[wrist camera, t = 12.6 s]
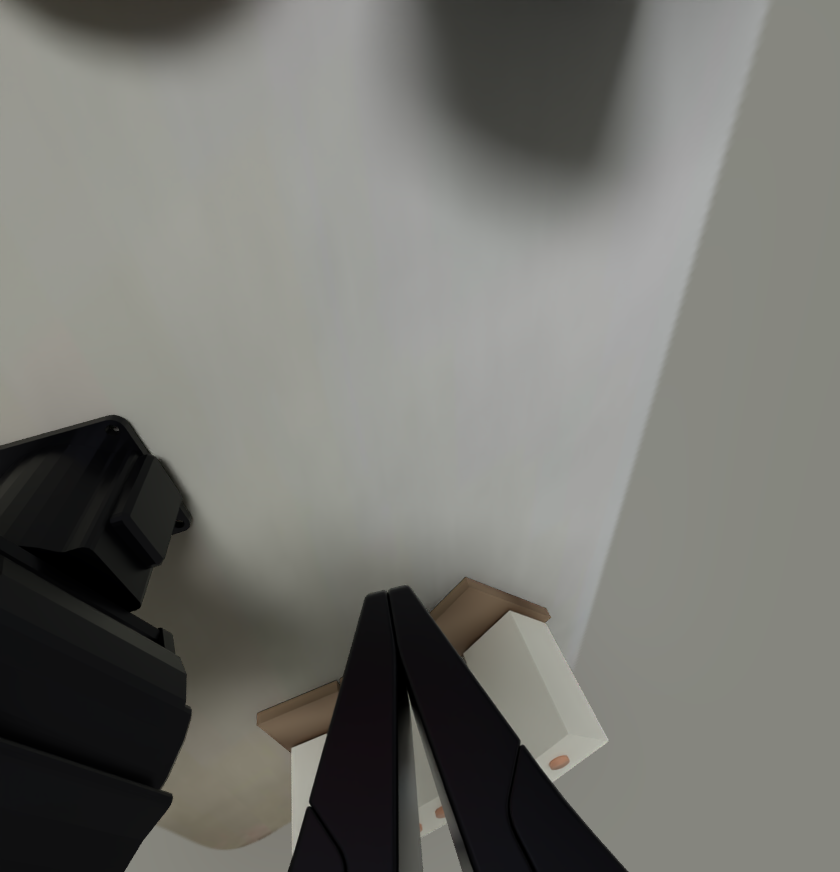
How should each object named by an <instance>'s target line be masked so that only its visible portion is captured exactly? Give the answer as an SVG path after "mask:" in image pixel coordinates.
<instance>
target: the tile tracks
mask: <svg viewBox="0 0 840 872" xmlns="http://www.w3.org/2000/svg"><path fill="white" fill-rule="evenodd" d="M508 611H513V612H516V613H518V614H521V615H524V616H527V617H530V618H532V619H535V620H538V621H541V622H543V623H545V622H547V621H548V620H549V619H550V618H551V616H550V615H549V613H548V611H547V609H546V608H544V607H541V606H539V605H536V604H534V603H531V602H528V601H526V600H523V599H521V598H518V597H516V596H513V595H510V594H508V593H505V592H503V591H500V590H497V589H495V588H492V587H490V586H487V585H485V584H482V583H479V582H477V581H474V580H472V579H469V578H467V577H465V578H464V579H463V580H462V581H461V582H460V583H459V584H458V585H457V586H456V587H455V588H454V589H453V590H452V591H451V592H450V593H449V594H448V595H447V596H446V597H445V598H444V599H443V600H442V601H441V602H440V603H439V604H438V605H437V606H436V607H435V608H434V609H433V610H432V611H431V612H430V613H429V614H430V615H431V617H432V618H433V619H434V621H435V622H436V624H437V625H438V626H439V628H440V629H441V631H442V632H443V633H444V635H445V636H446V637H447V639H448V640H449V642H450V643H451V644H452V646H453V647H454V649H455V650H456V651H457V653H458V654H459V655H460V656H463V657H464V655H463V653H464V652H465V651H467V650H468V649H469V648H470V647H471V646H472V645H473V644H474V643H475V642H476V641H477V640H478V639H479V638H481V637H482V636H483V635H484V634H485V633H486V632H487V631H488V630H489V629H490V628H491V627H492V626H493V625H494V624H496V623H497V622H498V621H499V620H500V619H501V618H502V617H503V616H504V615H505V614H506V613H507V612H508ZM342 678H343V677H342ZM342 678H340V684H339V683H338V682H337V680H336V681H334V682H332V683H329V684H327V685H324V686H322V687H320V688H317V689H315V690H312V691H310V692H307V693H305V694H303V695H300V696H298V697H295V698H293V699H291V700H288V701H286V702H283V703H281V704H279V705H276V706H274V707H271V708H269V709H266V710H264V711H262V712H259V713H257V726H259V727H260V728H261V729H262V730H263V731H265V732H266V733H267V734H268V735H270V736H271V737H272V738H273V739H275V740H276V741H277V742H278V743H279V744H281V745H282V746H283V747H284V748H286V749H287V750H288V751H289V752H290V753H291V748H293V747H295V746H298V745H300V744H303V743H305V742H307V741H310V740H312V739H315V738H317V737H319V736H322V735H324V734H327V733H328V729H329V725H330V722H331V718H332V714H333V711H334V707H335V704H336V700H337V696H338V693H339V689H340V686H341V682H342Z"/></svg>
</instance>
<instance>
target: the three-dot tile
mask: <svg viewBox="0 0 840 872" xmlns="http://www.w3.org/2000/svg"><path fill="white" fill-rule="evenodd" d="M326 736H327V734H324V735H322V736H319V737H317V738H315V739H312V740H310V741H307V742H305V743H303V744H300V745H298V746H295V747H293V748H291V782H292V856H293V853H294V850H295V846H296V843H297V840H298V836H299V833H300V829H301V825H302V822H303V818H304V815H305V811H306V808H307V807H308V806H311V805H310V804H309V798H310V794H311V790H312V787H313V783H314V779H315V776H316V772H317V769H318V765H319V761H320V758H321V754H322V751H323V747H324V743H325V740H326Z"/></svg>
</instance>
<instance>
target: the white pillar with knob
mask: <svg viewBox="0 0 840 872" xmlns="http://www.w3.org/2000/svg"><path fill="white" fill-rule="evenodd" d="M463 655H464V657H465V660H466V663H467V666H468V668H469V669H470V671H471V672H472V673H473V675H474V676H475V678H476V679H477V680H478V682H479V683H480V685H481V686H482V687H483V689H484V690H485V691H486V693H487V694H488V696H489V697H490V698H491V700H492V701H493V703H494V704H495V705H496V707H497V708H498V709H499V711H500V712H501V714H502V715H503V716H504V718H505V719H506V721H507V722H508V723H509V725H510V726H511V727H512V729H513V730H514V732H515V733H516V734H517V736H518V737H519V739H520V740H521V745H522V744H523V745H525V746H526V748H527V749H528V751H529V752H530V753H531V755H532V756H533V758H534V759H535V760H536V762H537V763H538V764H539V766H540V767H541V768H542V770H543V771H544V772H545V774H546V775H547V776H548V778H549V779H550V780H551V782H554V781H555V780H556V779H558V778H559V777H561V776H562V775H563V774H564V773H566V772H567V771H569V770H570V769H571V768H573V767H574V766H575V765H577V764H578V763H580V762H581V761H582V760H584V759H585V758H586V757H588V756H589V755H591V754H592V753H593V752H595V751H596V750H597V749H599V748H600V747H601V746H603V745H604V744H606V743H607V742H608V741H609V740H608V738H607V736H606V735H605V733H604V731H603V729H602V727H601V725H600V723H599V721H598V720H597V718H596V716H595V714H594V713H593V710H592V708H591V707H590V705H589V703H588V701H587V699H586V697H585V695H584V694H583V692H582V690H581V688H580V686H579V684H578V682H577V681H576V679H575V677H574V675H573V673H572V671H571V669H570V667H569V666H568V664H567V662H566V660H565V658H564V656H563V654H562V653H561V651H560V649H559V647H558V645H557V643H556V641H555V640H554V638H553V636H552V634H551V632H550V630H549V628H548V627H547V625H546V623H543V622H541V621H538V620H535V619H532V618H530V617H527V616H524V615H521V614H518V613H516V612H513V611H508V612H507V613H506V614H505V615H504V616H503V617H502V618H501V619H500V620H499V621H498V622H497V623H496V624H494V625H493V626H492V627H491V628H490V629H489V630H488V631H487V632H486V633H485V634H484V635H483V636H482V637H481V638H479V639H478V640H477V641H476V642H475V643H474V644H473V645H472V646H471V647H470V648H469V649H468V650H467V651H465V652H464V653H463Z"/></svg>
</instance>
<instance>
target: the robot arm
mask: <svg viewBox="0 0 840 872" xmlns="http://www.w3.org/2000/svg"><path fill="white" fill-rule="evenodd" d="M108 425H114V426H116V427H118V428H119V431H114V430H112V429H110V428H109V426H108ZM181 500H182V495H181V494H180V492H179V491H178V489H177V488H176V486H175V485H174V483H173V482H172V480H171V479H170V477H169V476H168V474H167V473H166V471H165V470H164V468H163V467H162V465H161V464H160V462H159V461H158V459H157V458H156V457H155V456H153V455H151V454H149V453H148V451H147V450H146V448H145V447H144V445H143V444H142V443H141V441H140V440H139V438H138V437H137V435H136V434H135V432H134V431H133V429H132V428H131V426H130V425H129V423H128V422H127V421H126V420H125V419H124V418H122V417H120V416H117V415H108V416H105V417H101V418H98V419H94V420H90V421H87V422H83V423H80V424H76V425H73V426H69V427H65V428H62V429H58V430H55V431H51V432H48V433H44V434H40V435H37V436H33V437H30V438H26V439H22V440H19V441H15V442H12V443H8V444H5V445H1V446H0V872H124V871H125V869H126V868H127V866H128V864H129V863H130V861H131V860H132V858H133V856H134V854H135V853H136V851H137V850H138V848H139V846H140V844H141V843H142V841H143V840H144V839H145V837H146V836H147V835H148V834H149V832H150V831H151V830H152V829H153V827H154V826H155V825H156V824H157V822H158V821H159V820H160V819H161V817H162V816H163V815H164V813H165V812H166V811H167V810H168V808H169V807H170V805H171V803H172V799H173V796H172V794H171V793H169V792H166V791H163V790H161V789H162V787H163V786H164V784H165V782H166V780H167V779H168V777H169V775H170V773H171V770H172V768H173V766H174V764H175V761H176V759H177V757H178V755H179V753H180V750H181V748H182V746H183V744H184V741H185V738H186V735H187V731H188V728H189V724H190V721H191V715H192V709H191V707H190V706H188V705H185V703H186V676H187V674H186V672H185V669H184V667H183V664H182V662H181V659H180V657H179V656H177V655H175V648H174V642H173V635H172V634H171V633H170V632H168V631H166V630H165V629H163V628H158V629H157V628H155V627H154V626H152V625H150V624H149V623H147V622H145V621H144V620H142V619H140V618H139V617H137V616H135V615H133V614H132V613H130V612H132V611H135V610H137V609H139V608H140V607H141V604H142V601H143V598H144V595H145V592H146V589H147V585H148V582H149V579H150V576H151V573H152V569H153V567H156V566H159V565H161V564H162V562H163V560H164V558H165V555H166V552H167V548H168V545H169V541H170V538H171V535H173V534H176V533H180V532H183V531H185V530H187V529H188V528H189V527H190V523H191V519H192V518H191V515H190V514H189V512H188V511H187V509H186V508H185V506H184V505H183V503H182V502H181ZM176 520H181V521H183V522H177V521H176ZM408 695H409V697H408ZM409 699H410V703H411V707H412V711H413V714H414V718H415V721H416V724H417V728H418V731H419V734H420V737H421V740H422V744H423V747H424V750H425V753H426V756H427V760H428V763H429V766H430V769H431V772H432V776H433V779H434V782H435V785H436V789H437V792H438V795H439V798H440V801H441V805H442V808H443V811H444V814H445V817H446V821H447V824H448V827H449V830H450V833H451V837H452V840H453V843H454V846H455V849H456V853H457V856H458V859H459V862H460V865H461V869H462V871H463V872H628V871H627V870H626V869H625V868H624V866H623V865H622V864H621V863H620V862H619V861H618V860H617V859H616V858H615V856H614V855H613V854H612V853H611V852H610V851H609V850H608V849H607V847H606V846H605V845H604V844H603V843H602V842H601V841H600V840H599V838H598V837H597V836H596V835H595V834H594V833H593V832H592V830H591V829H590V828H589V827H588V826H587V825H586V824H585V822H584V821H583V820H582V819H581V818H580V816H579V815H578V814H577V813H576V812H575V810H574V809H573V808H572V807H571V806H570V804H569V803H568V802H567V801H566V800H565V799H564V797H563V796H562V795H561V793H560V792H559V791H558V789H557V788H556V787H555V786H554V784H553V783H552V782H551V780H550V779H549V778H548V776H547V775H546V774H545V772H544V771H543V770H542V768H541V767H540V766H539V764H538V763H537V762H536V760H535V759H534V758H533V756H532V755H531V753H530V752H529V751H528V749H527V748H526V746H525V745H523V744H522V745H521V740H520V739H519V737H518V736H517V734H516V733H515V732H514V730H513V729H512V727H511V726H510V725H509V723H508V722H507V721H506V719H505V718H504V716H503V715H502V714H501V712H500V711H499V709H498V708H497V707H496V705H495V704H494V703H493V701H492V700H491V698H490V697H489V696H488V694H487V693H486V691H485V690H484V689H483V687H482V686H481V685H480V683H479V682H478V680H477V679H476V678H475V676H474V675H473V673H472V672H471V671H470V669H469V668H468V667H467V665H466V664H465V662H464V661H463V660H462V658H461V657H460V655H459V654H458V653H457V651H456V650H455V649H454V647H453V646H452V644H451V643H450V642H449V640H448V639H447V637H446V636H445V635H444V633H443V632H442V631H441V629H440V628H439V626H438V625H437V624H436V622H435V621H434V619H433V618H432V617H431V615H430V614H429V613H428V611H427V610H426V608H425V607H424V606H423V604H422V603H421V601H420V600H419V599H418V597H417V596H416V595H415V593H414V592H413V590H412V589H411V588H410V587H409V586H408V585H403V586H399V587H395V588H391V589H389V591H388V593H387V591H385V590H382V591H378V592H374V593H370V594H368V595H366V597H365V599H364V603H363V606H362V610H361V613H360V617H359V621H358V624H357V628H356V631H355V635H354V639H353V642H352V646H351V649H350V653H349V657H348V660H347V664H346V668H345V671H344V675H343V678H342V682H341V686H340V689H339V693H338V696H337V700H336V704H335V707H334V711H333V714H332V718H331V722H330V725H329V729H328V733H327V736H326V740H325V743H324V747H323V751H322V754H321V758H320V761H319V765H318V769H317V772H316V776H315V779H314V783H313V787H312V790H311V794H310V798H309V804H310V805H311V806H308V807H307V808H306V811H305V815H304V818H303V822H302V825H301V829H300V833H299V836H298V840H297V843H296V846H295V850H294V853H293V856H292V860H291V863H290V866H289V869H288V872H423V866H422V853H421V839H420V825H419V812H418V799H417V786H416V773H415V760H414V747H413V734H412V721H411V711H410V703H409Z"/></svg>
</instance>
